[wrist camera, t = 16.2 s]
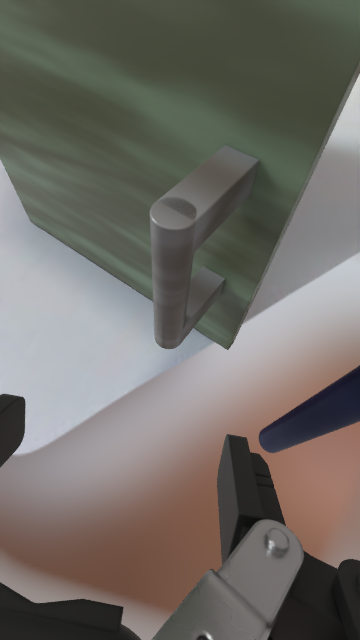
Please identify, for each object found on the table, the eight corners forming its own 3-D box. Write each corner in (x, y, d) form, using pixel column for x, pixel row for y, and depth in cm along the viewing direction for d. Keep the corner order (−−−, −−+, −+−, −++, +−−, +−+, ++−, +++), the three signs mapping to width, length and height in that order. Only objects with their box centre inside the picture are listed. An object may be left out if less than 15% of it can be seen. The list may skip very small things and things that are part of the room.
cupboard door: (190, 403, 24) (341, -86, 4) (-16, 252, 31) (-359, -217, 11) (233, 342, 27) (448, -115, 7) (37, 216, 34) (-150, -203, 14)
